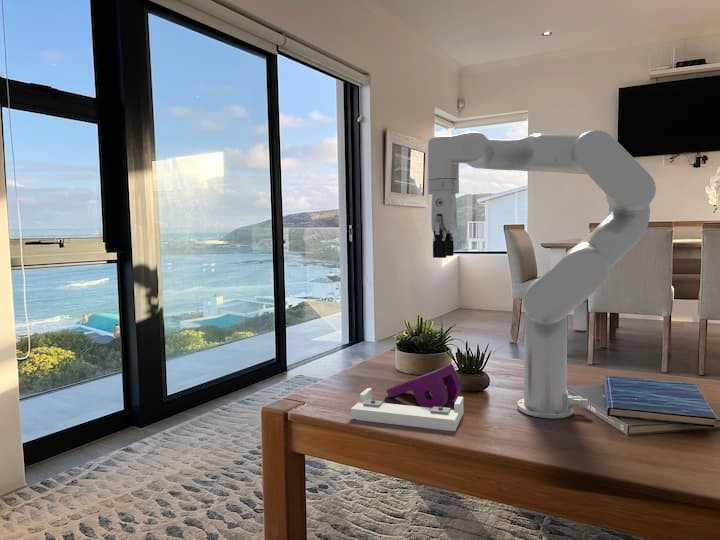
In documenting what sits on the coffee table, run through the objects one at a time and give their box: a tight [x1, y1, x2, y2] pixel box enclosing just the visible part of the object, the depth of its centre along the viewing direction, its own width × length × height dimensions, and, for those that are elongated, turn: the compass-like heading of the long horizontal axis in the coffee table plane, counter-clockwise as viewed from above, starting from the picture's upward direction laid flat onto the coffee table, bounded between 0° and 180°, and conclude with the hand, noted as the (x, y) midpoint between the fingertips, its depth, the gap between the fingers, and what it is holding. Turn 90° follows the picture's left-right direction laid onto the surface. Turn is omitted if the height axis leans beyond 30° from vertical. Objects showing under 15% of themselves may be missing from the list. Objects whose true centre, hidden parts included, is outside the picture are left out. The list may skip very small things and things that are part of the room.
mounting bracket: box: [385, 363, 462, 408], centre depth 130 cm, size 9×8×18 cm
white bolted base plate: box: [350, 387, 464, 432], centre depth 119 cm, size 24×12×4 cm, turn 70°
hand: (443, 256), depth 127 cm, fingers open, 9 cm apart
